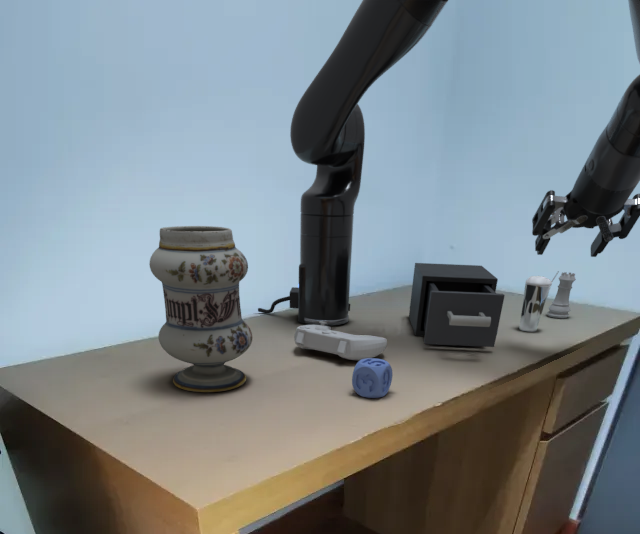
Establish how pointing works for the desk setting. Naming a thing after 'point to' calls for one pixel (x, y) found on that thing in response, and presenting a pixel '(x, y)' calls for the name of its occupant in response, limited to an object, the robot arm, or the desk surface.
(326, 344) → the game controller
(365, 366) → the decorative dice
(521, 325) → the milkshake
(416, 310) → the small filing cabinet
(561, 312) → the rook chess piece
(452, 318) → the drawer
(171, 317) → the apothecary jar
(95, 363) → the desk surface
